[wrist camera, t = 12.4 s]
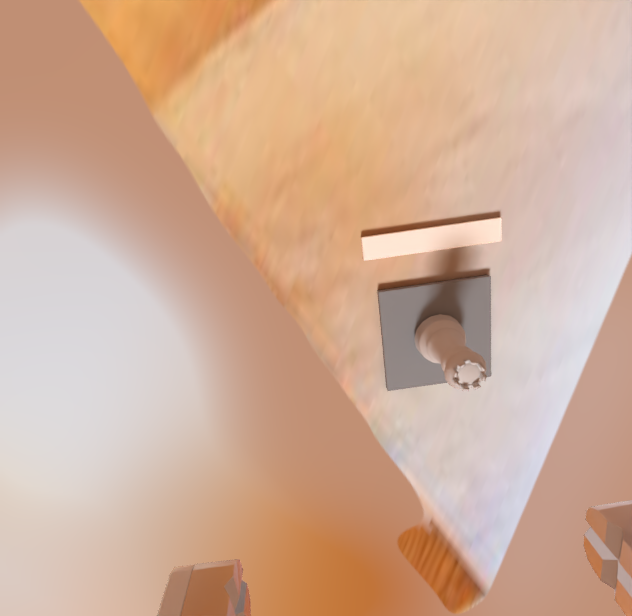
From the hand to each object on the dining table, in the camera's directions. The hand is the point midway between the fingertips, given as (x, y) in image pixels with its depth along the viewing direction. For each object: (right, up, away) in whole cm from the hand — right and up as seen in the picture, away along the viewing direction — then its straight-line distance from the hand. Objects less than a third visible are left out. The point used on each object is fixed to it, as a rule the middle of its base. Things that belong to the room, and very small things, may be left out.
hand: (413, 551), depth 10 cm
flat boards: (+9, +6, +29) cm, 31 cm away
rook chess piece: (+9, +3, +29) cm, 31 cm away
